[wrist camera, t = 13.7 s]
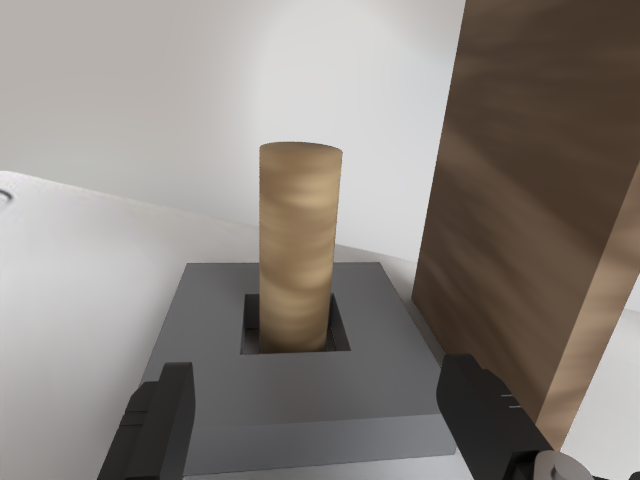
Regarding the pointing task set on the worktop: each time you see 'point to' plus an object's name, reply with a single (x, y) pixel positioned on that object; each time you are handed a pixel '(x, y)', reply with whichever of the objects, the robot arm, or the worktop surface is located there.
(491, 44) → the wooden l bracket
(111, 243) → the worktop surface
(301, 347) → the wooden peg
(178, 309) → the socket plate
